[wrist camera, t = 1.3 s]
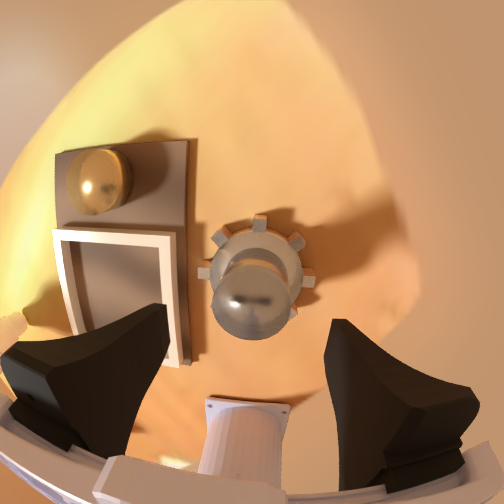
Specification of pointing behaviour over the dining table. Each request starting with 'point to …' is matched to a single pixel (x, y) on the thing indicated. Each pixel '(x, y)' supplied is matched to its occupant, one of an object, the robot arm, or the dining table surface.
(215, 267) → the planet gear
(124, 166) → the golden brown dome
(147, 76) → the dining table surface
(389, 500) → the robot arm
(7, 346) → the lightbulb
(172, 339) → the carrier pocket
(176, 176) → the carrier board
